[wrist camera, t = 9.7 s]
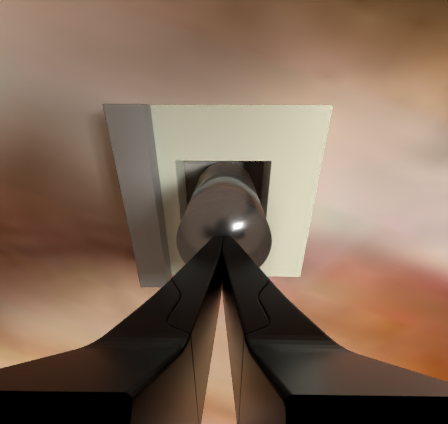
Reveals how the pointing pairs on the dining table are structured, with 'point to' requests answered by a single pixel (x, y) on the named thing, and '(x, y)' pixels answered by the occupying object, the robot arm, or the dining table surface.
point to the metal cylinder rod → (224, 213)
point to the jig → (215, 151)
